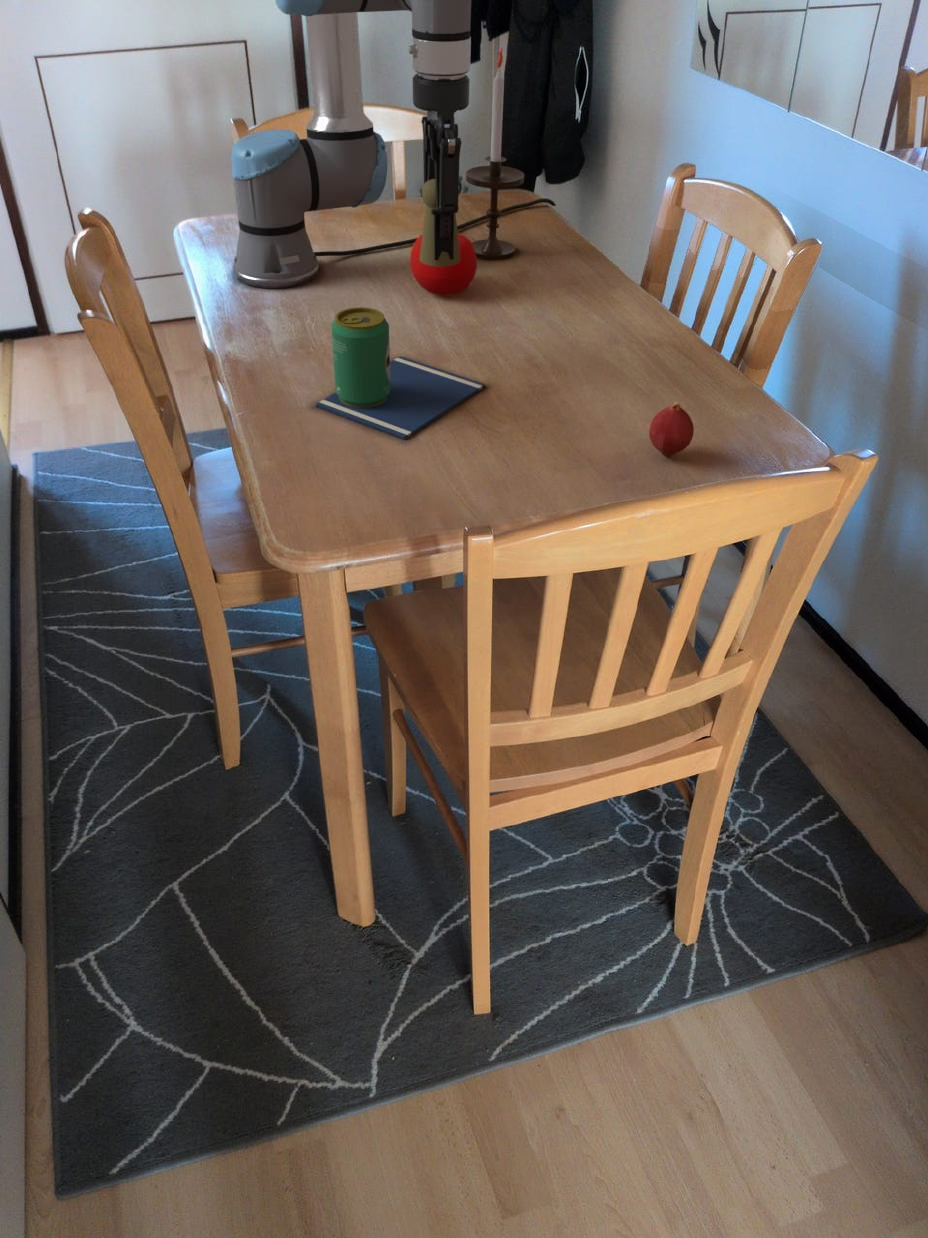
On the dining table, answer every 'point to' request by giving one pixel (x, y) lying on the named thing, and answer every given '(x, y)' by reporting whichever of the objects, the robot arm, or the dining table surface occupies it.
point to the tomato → (445, 270)
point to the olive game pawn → (428, 232)
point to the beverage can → (361, 357)
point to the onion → (671, 430)
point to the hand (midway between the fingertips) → (440, 252)
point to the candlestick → (495, 179)
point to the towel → (409, 399)
